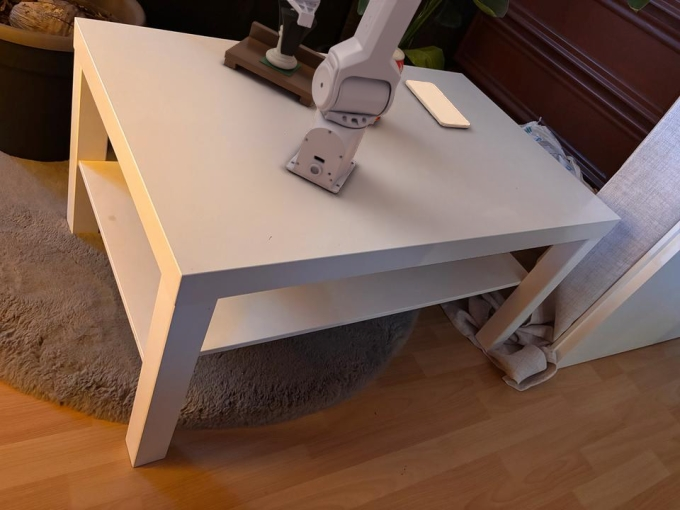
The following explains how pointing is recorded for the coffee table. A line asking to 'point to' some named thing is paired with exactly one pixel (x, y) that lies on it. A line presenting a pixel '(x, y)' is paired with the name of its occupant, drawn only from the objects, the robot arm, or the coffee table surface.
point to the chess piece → (280, 56)
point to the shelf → (254, 59)
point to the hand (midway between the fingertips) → (285, 48)
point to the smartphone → (437, 104)
